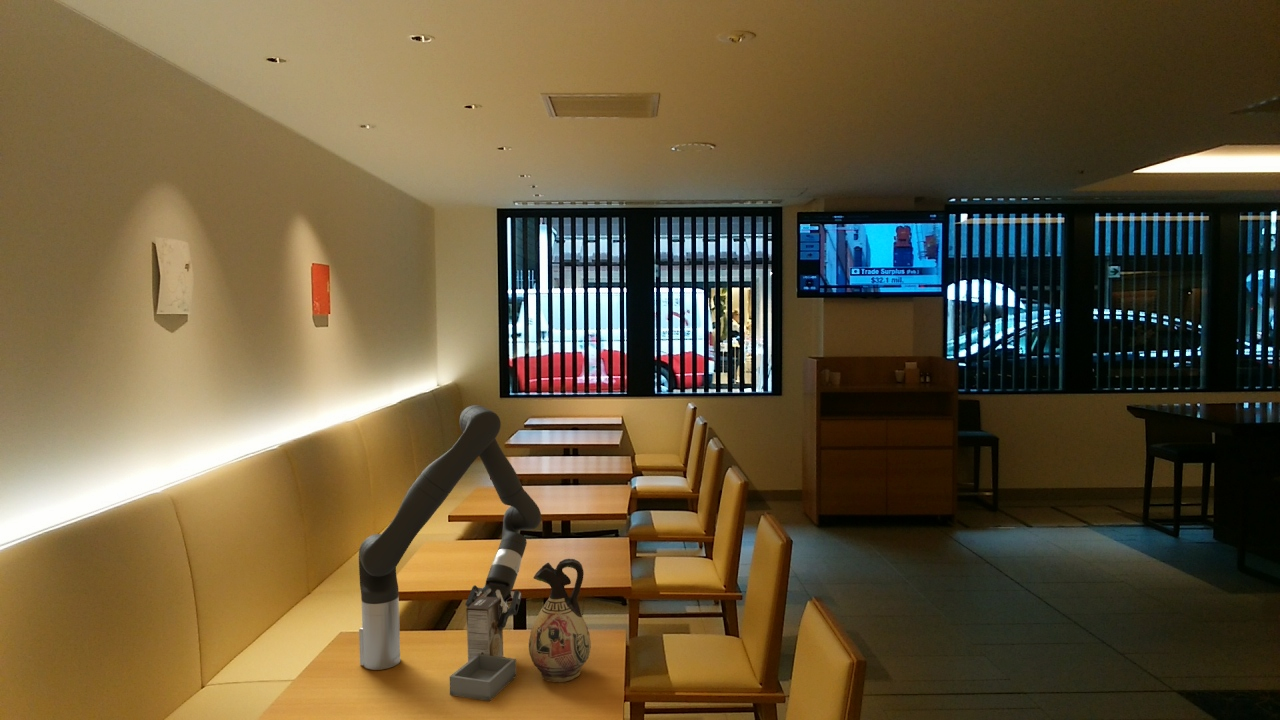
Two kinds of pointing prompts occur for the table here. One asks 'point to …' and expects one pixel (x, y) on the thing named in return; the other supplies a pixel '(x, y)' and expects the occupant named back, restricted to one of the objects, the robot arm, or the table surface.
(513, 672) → the grey tub
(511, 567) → the robot arm
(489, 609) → the coffee box
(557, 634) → the ceramic jug
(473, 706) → the table surface
